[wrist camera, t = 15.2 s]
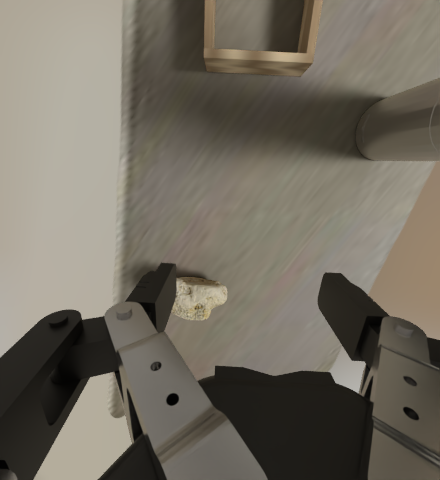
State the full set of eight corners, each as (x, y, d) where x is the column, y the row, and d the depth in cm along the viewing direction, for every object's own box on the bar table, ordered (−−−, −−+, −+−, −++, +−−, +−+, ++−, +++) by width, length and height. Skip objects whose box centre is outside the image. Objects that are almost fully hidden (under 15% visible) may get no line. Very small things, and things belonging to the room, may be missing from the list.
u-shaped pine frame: (319, -55, 29) (338, -96, 24) (300, 76, 34) (312, 63, 29) (210, -60, 29) (207, -103, 24) (206, 71, 34) (203, 57, 29)
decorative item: (165, 291, 48) (151, 323, 38) (174, 255, 45) (160, 280, 35) (219, 304, 48) (218, 339, 39) (231, 270, 45) (232, 299, 36)
